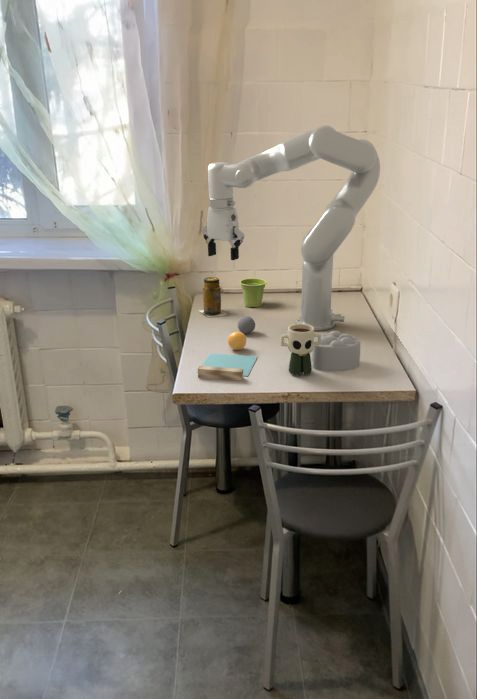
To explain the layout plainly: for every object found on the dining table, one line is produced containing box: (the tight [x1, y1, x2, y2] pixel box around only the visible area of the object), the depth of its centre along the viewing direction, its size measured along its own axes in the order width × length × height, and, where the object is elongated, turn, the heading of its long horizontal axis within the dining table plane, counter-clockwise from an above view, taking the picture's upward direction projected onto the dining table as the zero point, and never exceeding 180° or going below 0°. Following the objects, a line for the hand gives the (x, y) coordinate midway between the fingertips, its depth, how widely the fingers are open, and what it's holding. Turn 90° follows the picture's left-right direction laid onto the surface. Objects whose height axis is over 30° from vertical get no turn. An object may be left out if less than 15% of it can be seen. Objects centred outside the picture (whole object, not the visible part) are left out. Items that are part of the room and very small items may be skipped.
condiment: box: [198, 276, 228, 318], centre depth 226 cm, size 7×8×12 cm
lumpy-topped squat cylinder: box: [311, 330, 361, 373], centre depth 183 cm, size 10×13×9 cm
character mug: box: [280, 323, 322, 376], centre depth 177 cm, size 11×7×13 cm, turn 94°
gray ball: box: [237, 316, 256, 335], centre depth 208 cm, size 6×6×6 cm
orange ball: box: [227, 330, 247, 351], centre depth 195 cm, size 6×6×6 cm
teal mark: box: [196, 352, 258, 377], centre depth 185 cm, size 14×14×1 cm
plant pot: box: [239, 278, 267, 308], centre depth 234 cm, size 9×9×9 cm
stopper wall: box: [197, 365, 244, 382], centre depth 177 cm, size 12×2×2 cm, turn 78°
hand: (223, 257), depth 213 cm, fingers open, 9 cm apart
